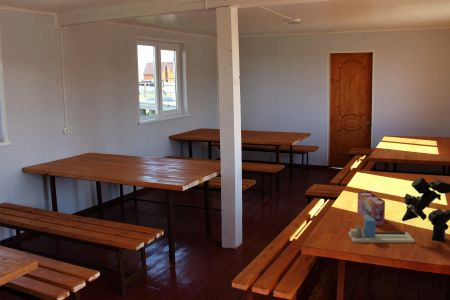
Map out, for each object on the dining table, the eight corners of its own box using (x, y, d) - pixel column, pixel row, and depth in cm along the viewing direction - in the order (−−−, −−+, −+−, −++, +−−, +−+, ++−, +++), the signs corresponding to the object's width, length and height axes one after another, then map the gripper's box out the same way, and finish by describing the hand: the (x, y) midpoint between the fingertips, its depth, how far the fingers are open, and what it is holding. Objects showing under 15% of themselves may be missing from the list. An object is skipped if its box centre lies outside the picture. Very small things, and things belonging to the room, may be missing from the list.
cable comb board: (406, 234, 246) (407, 223, 245) (414, 242, 234) (415, 230, 233) (348, 233, 248) (348, 222, 246) (353, 242, 236) (353, 230, 235)
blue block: (373, 233, 243) (373, 218, 241) (375, 236, 239) (375, 220, 237) (363, 233, 243) (363, 218, 242) (365, 236, 239) (365, 220, 237)
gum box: (385, 225, 260) (386, 202, 258) (372, 226, 259) (373, 202, 257) (369, 212, 283) (370, 191, 281) (356, 213, 283) (357, 191, 280)
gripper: (408, 184, 244) (386, 204, 247) (421, 193, 226) (397, 215, 229) (423, 198, 245) (400, 218, 248) (436, 209, 227) (412, 230, 229)
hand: (402, 220), depth 238 cm, fingers closed
